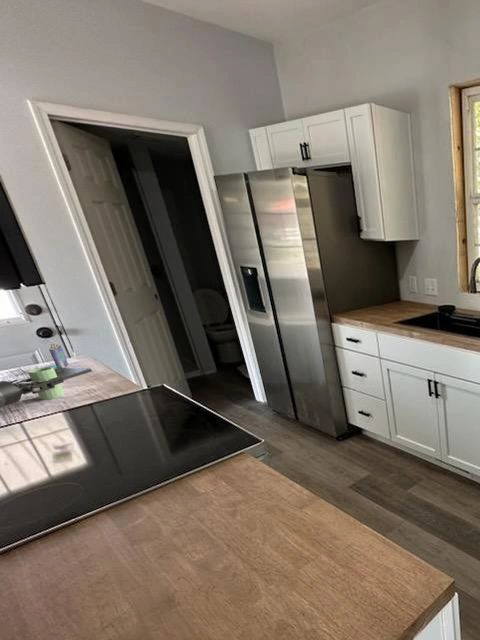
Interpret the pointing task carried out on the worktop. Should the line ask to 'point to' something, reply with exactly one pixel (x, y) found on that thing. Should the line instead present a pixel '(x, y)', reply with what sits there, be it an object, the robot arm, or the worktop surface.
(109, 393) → the worktop surface
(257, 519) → the worktop surface
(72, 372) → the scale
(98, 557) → the worktop surface
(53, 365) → the tare button
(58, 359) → the french fries carton
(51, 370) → the cup
